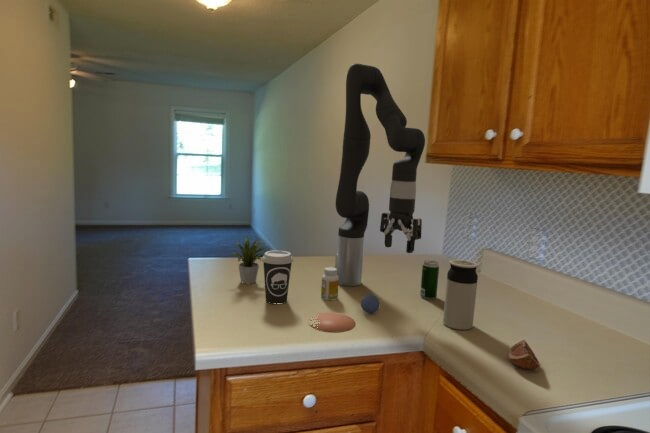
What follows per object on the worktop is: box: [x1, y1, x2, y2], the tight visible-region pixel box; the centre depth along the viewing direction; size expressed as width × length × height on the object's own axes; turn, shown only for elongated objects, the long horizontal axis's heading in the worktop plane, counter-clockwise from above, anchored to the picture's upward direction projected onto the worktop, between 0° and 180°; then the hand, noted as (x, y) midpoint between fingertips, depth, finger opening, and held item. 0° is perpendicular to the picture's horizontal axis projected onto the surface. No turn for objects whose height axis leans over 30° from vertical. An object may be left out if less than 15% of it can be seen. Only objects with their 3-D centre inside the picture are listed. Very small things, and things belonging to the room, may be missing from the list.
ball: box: [360, 294, 381, 315], centre depth 124 cm, size 6×6×6 cm
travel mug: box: [442, 258, 479, 331], centre depth 117 cm, size 8×8×18 cm
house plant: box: [231, 235, 271, 284], centre depth 145 cm, size 14×14×16 cm
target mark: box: [308, 312, 356, 333], centre depth 116 cm, size 13×13×1 cm
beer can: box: [419, 259, 440, 301], centre depth 140 cm, size 5×5×12 cm
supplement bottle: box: [320, 266, 339, 301], centre depth 134 cm, size 5×5×10 cm
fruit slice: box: [507, 339, 541, 370], centre depth 95 cm, size 8×7×5 cm
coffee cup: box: [261, 250, 294, 305], centre depth 129 cm, size 10×10×15 cm
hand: (398, 249), depth 127 cm, fingers open, 8 cm apart
